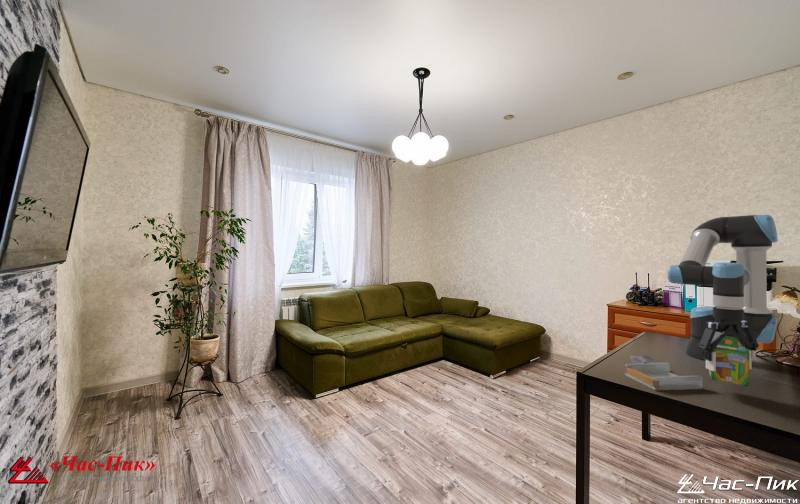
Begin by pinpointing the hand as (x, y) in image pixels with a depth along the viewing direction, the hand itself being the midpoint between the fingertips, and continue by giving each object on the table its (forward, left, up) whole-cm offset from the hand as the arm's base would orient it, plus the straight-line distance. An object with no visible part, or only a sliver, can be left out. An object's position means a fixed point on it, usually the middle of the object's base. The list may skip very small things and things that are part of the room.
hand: (728, 368), depth 109 cm
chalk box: (0, 0, -4) cm, 4 cm away
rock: (+8, -26, -9) cm, 28 cm away
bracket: (+13, -12, -9) cm, 20 cm away
